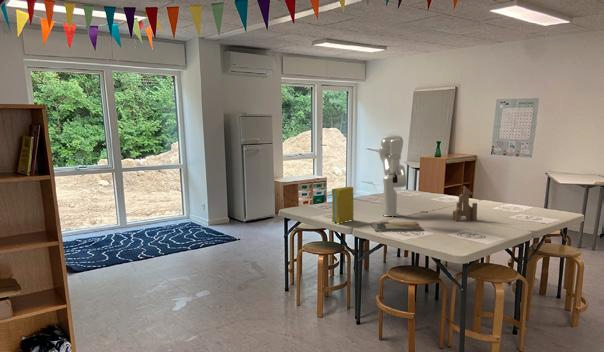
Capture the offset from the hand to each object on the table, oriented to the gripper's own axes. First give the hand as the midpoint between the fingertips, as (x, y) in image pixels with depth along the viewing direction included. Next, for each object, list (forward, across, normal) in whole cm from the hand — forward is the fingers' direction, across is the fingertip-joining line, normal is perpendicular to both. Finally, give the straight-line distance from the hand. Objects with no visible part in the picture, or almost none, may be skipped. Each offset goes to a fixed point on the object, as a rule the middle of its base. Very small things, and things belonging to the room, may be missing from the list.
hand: (395, 182), depth 290 cm
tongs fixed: (+28, +20, -2) cm, 34 cm away
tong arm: (+28, +19, -2) cm, 34 cm away
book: (+29, -6, -36) cm, 47 cm away
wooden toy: (+29, -4, +52) cm, 60 cm away
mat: (+29, +13, -2) cm, 32 cm away
